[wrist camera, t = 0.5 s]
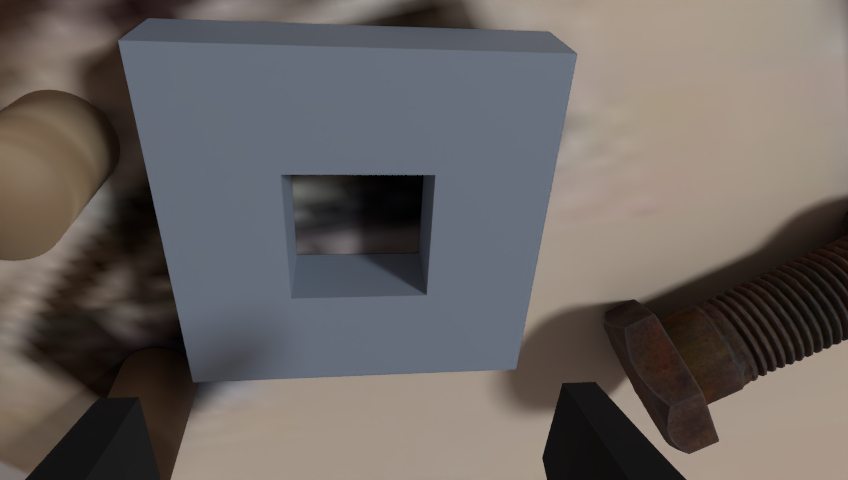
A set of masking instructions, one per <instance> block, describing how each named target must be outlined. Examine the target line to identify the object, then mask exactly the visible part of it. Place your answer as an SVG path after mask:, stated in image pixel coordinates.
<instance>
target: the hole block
mask: <svg viewBox="0 0 848 480" xmlns="http://www.w3.org/2000/svg"><path fill="white" fill-rule="evenodd" d="M118 43H119V48H120V52H121V57H122V61H123V66H124V70H125V75H126V79H127V84H128V89H129V93H130V98H131V102H132V107H133V111H134V116H135V120H136V125H137V130H138V134H139V139H140V143H141V148H142V152H143V157H144V161H145V166H146V171H147V175H148V180H149V184H150V189H151V193H152V198H153V202H154V207H155V212H156V216H157V221H158V225H159V230H160V234H161V239H162V243H163V248H164V252H165V257H166V262H167V266H168V271H169V275H170V280H171V284H172V289H173V293H174V298H175V303H176V307H177V312H178V316H179V321H180V325H181V330H182V334H183V339H184V344H185V348H186V353H187V357H188V362H189V366H190V371H191V375H192V380H193V382H217V381H241V380H265V379H290V378H314V377H339V376H363V375H387V374H412V373H436V372H460V371H485V370H509V369H516V368H517V363H518V357H519V352H520V347H521V342H522V337H523V332H524V327H525V321H526V316H527V311H528V306H529V301H530V296H531V290H532V285H533V280H534V275H535V270H536V265H537V259H538V254H539V249H540V244H541V239H542V234H543V228H544V223H545V218H546V213H547V208H548V203H549V198H550V192H551V187H552V182H553V177H554V172H555V167H556V161H557V156H558V151H559V146H560V141H561V136H562V130H563V125H564V120H565V115H566V110H567V105H568V100H569V94H570V89H571V84H572V79H573V74H574V69H575V63H576V58H577V53H576V52H575V51H573V50H572V49H571V48H569V47H568V46H567V45H566V44H564V43H563V42H562V41H561V40H559V39H558V38H557V37H556V36H554V35H553V34H552V33H550V32H540V31H511V30H481V29H451V28H422V27H392V26H362V25H332V24H303V23H273V22H243V21H213V20H184V19H154V18H148V19H147V20H145V21H144V22H142V23H141V24H140V25H138V26H137V27H136V28H134V29H133V30H132V31H130V32H129V33H127V34H126V35H125V36H123V37H122V38H121V39H119V40H118ZM291 175H424V178H423V194H422V210H421V227H420V243H419V253H407V254H340V255H297V251H296V237H295V224H294V210H293V197H292V183H291Z"/></svg>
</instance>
